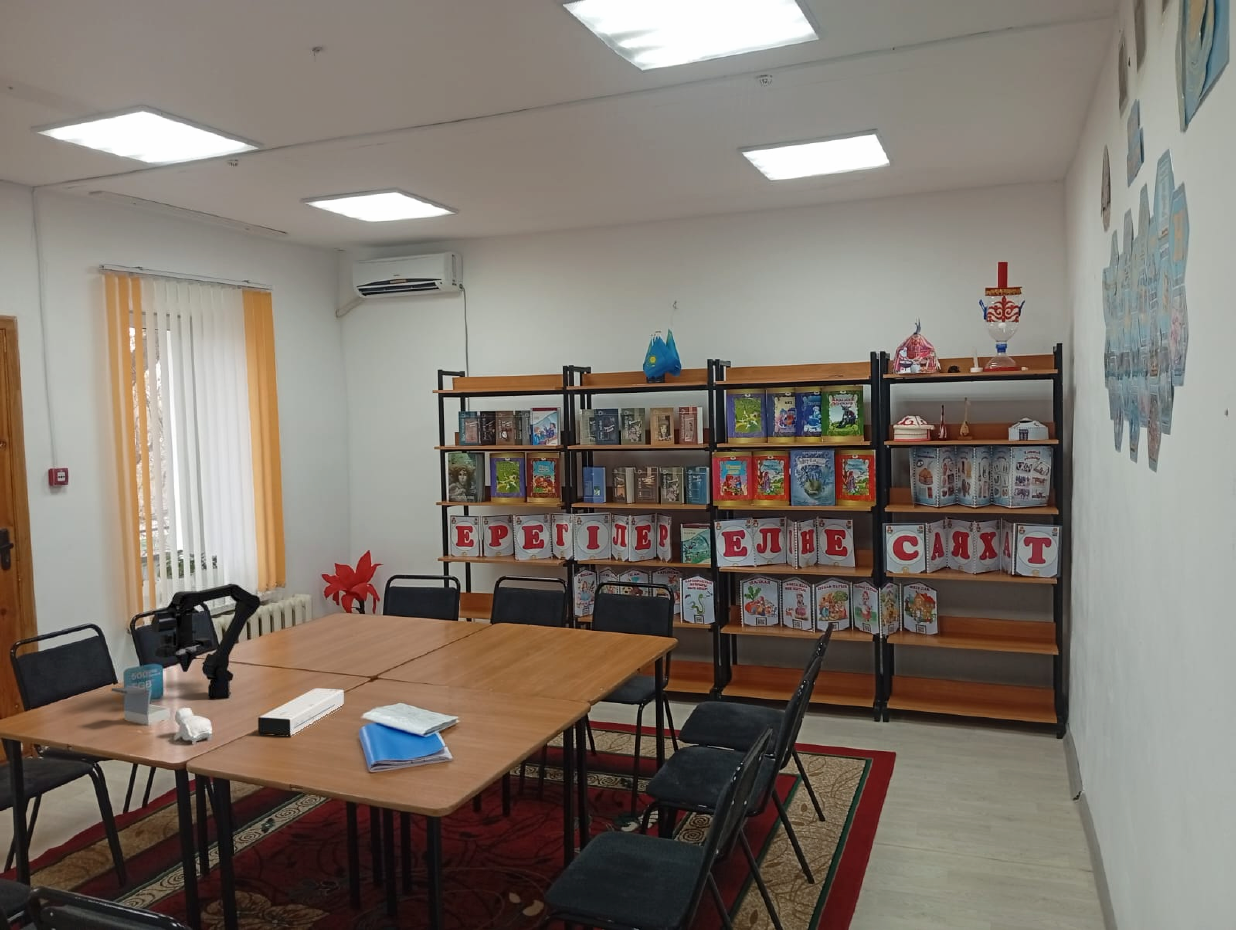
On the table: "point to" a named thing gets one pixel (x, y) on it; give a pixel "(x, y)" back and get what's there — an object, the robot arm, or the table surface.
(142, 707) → the carton lid
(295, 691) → the table surface
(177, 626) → the robot arm
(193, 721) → the white animal figurine
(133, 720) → the carton
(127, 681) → the data package
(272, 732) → the laminator
